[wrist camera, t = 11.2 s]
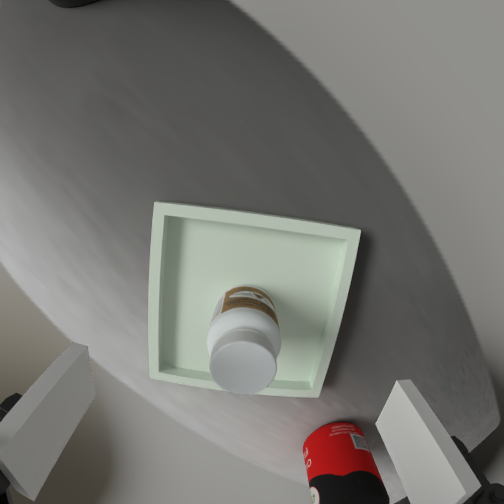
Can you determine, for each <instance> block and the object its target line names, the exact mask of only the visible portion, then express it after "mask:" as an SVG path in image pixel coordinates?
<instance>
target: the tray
mask: <svg viewBox="0 0 504 504" xmlns="http://www.w3.org/2000/svg"><path fill="white" fill-rule="evenodd" d="M360 234H361V230H359V229H357V228H354V227H351V226H345V225H339V224H333V223H326V222H320V221H314V220H307V219H301V218H294V217H287V216H280V215H274V214H266V213H259V212H252V211H244V210H237V209H229V208H221V207H213V206H204V205H196V204H187V203H178V202H169V201H157V202H154V211H153V222H152V235H151V250H150V269H149V300H148V344H149V375H150V378H153V379H157V380H162V381H167V382H173V383H178V384H184V385H189V386H195V387H202V388H208V389H215V390H223V391H226V390H224V389H222V388H221V387H220V386H219V385H217V384H216V383H215V381H214V380H213V378H212V376H211V373H210V367H209V365H210V358H211V357H210V355H209V352H208V349H207V335H208V331H209V327H210V323H211V320H212V316H213V313H214V309H215V306H216V303H217V301H218V299H219V297H220V296H221V295H222V294H223V293H224V292H225V291H226V290H227V289H229V288H231V287H233V286H236V285H241V284H248V285H254V286H257V287H259V288H261V289H263V290H264V291H265V292H266V293H268V294H269V296H270V297H271V299H272V301H273V303H274V306H275V310H276V315H277V320H278V325H279V329H280V334H281V349H280V352H279V355H278V357H277V359H276V361H277V372H276V375H275V378H274V380H273V381H272V382H271V384H270V385H269V386H268V387H266V388H265V389H263V390H261V391H259V392H256V393H253V394H260V395H273V396H289V397H316V398H318V397H319V394H320V391H321V388H322V385H323V382H324V379H325V376H326V373H327V370H328V366H329V363H330V360H331V356H332V353H333V349H334V346H335V342H336V339H337V335H338V331H339V328H340V324H341V320H342V316H343V312H344V308H345V304H346V300H347V296H348V292H349V287H350V283H351V278H352V274H353V269H354V264H355V260H356V255H357V250H358V244H359V239H360Z"/></svg>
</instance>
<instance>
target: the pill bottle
mask: <svg viewBox="0 0 504 504" xmlns="http://www.w3.org/2000/svg"><path fill="white" fill-rule="evenodd" d="M207 349H208V352H209V355H210V357H211V358H210V365H209V367H210V373H211V376H212V378H213V380H214V381H215V383H216V384H217V385H219V386H220V387H221V388H222V389H224V390H226V391H228V392H231V393H235V394H244V395H245V394H253V393H256V392H259V391H261V390H263V389H265V388H266V387H268V386H269V385H270V384H271V382H272V381H273V380H274V378H275V375H276V372H277V361H276V359H277V357H278V355H279V352H280V349H281V334H280V329H279V325H278V320H277V315H276V310H275V306H274V303H273V301H272V299H271V297H270V296H269V294H268V293H266V292H265V291H264V290H263V289H261V288H259V287H257V286H254V285H248V284H241V285H236V286H233V287H231V288H229V289H227V290H226V291H225V292H224V293H223V294H222V295H221V296H220V297H219V299H218V301H217V303H216V306H215V309H214V313H213V316H212V320H211V323H210V327H209V331H208V335H207Z"/></svg>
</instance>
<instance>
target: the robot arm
mask: <svg viewBox="0 0 504 504" xmlns="http://www.w3.org/2000/svg"><path fill="white" fill-rule="evenodd" d="M49 1H50V2H51V3H53V4H54V5H56V6H59V7H76V6H81V5H85V4H88V3H91V2H94V1H97V0H49ZM95 396H96V391H95V386H94V381H93V376H92V370H91V365H90V359H89V352H88V346H85V345H81V344H78V343H75V342H72V343H71V344H70V345H69V346H68V347H67V349H66V350H65V351H64V352H63V353H62V354H61V355H60V356H59V357H58V358H57V359H56V360H55V361H54V362H53V363H52V364H51V365H50V366H49V368H48V369H47V370H46V371H45V372H44V373H43V374H42V375H41V376H40V377H39V378H38V380H37V381H36V382H35V383H34V384H33V385H32V386H31V387H30V388H29V390H28V391H27V392H26V393H25V394H24V395H23V396H22V395H20V394H18V393H15V394H14V395H11V396H10V397H8V398H6V399H5V400H4V401H3V402H2V403H1V405H0V504H13V501H12V498H11V493H10V491H9V489H8V487H9V485H10V483H11V484H12V486H13V487H14V488H15V489H16V490H17V491H18V492H19V493H21V494H23V495H24V496H26V497H28V498H29V499H31V500H33V501H34V500H35V498H36V497H37V495H38V493H39V491H40V489H41V487H42V485H43V484H44V482H45V480H46V478H47V476H48V474H49V473H50V471H51V469H52V467H53V466H54V464H55V462H56V460H57V459H58V457H59V455H60V454H61V452H62V450H63V448H64V447H65V445H66V443H67V442H68V440H69V438H70V437H71V435H72V433H73V432H74V430H75V428H76V427H77V425H78V423H79V422H80V420H81V418H82V417H83V415H84V414H85V412H86V410H87V409H88V407H89V405H90V404H91V402H92V401H93V399H94V398H95ZM375 424H376V427H377V429H378V431H379V433H380V435H381V437H382V440H383V442H384V444H385V446H386V448H387V451H388V453H389V455H390V457H391V459H392V462H393V464H394V466H395V468H396V471H397V473H398V475H399V477H400V480H401V482H402V484H403V487H404V489H405V491H406V494H407V496H408V498H409V501H410V503H411V504H504V486H503V485H501V484H498V483H494V484H490V483H489V481H488V480H487V479H486V477H485V475H484V474H483V472H482V471H481V469H480V468H479V466H478V465H477V463H476V462H475V460H474V459H473V457H472V456H471V454H470V453H468V450H467V448H466V447H465V445H464V444H463V442H461V441H460V440H459V439H458V438H456V437H455V436H451V437H450V436H449V434H448V433H447V431H446V430H445V428H444V427H443V425H442V424H441V422H440V421H439V420H438V418H437V417H436V415H435V414H434V412H433V411H432V409H431V408H430V407H429V405H428V404H427V402H426V401H425V399H424V398H423V397H422V395H421V394H420V392H419V391H418V390H417V388H416V387H415V385H414V384H413V383H412V381H411V380H397V381H396V383H395V385H394V387H393V389H392V392H391V394H390V396H389V398H388V400H387V402H386V404H385V406H384V408H383V410H382V412H381V414H380V416H379V418H378V420H377V422H376V423H375Z"/></svg>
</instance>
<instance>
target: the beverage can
mask: <svg viewBox="0 0 504 504" xmlns="http://www.w3.org/2000/svg"><path fill="white" fill-rule="evenodd" d="M303 454H304V459H305V465H306V470H307V475H308V481H309V486H310V492H311V497H312V502H313V504H389V496H388V494H387V491H386V489H385V486H384V484H383V481H382V479H381V476H380V474H379V471H378V469H377V466H376V464H375V461H374V459H373V457H372V454H371V452H370V449H369V447H368V445H367V442H366V440H365V437H364V435H363V433H362V431H361V429H360V428H359V427H358V426H356V425H354V424H351V423H346V422H336V423H330V424H327V425H324V426H322V427H320V428H318V429H317V430H316V431H314V432H313V433H312V434H311V435H309V437H308V438H307V439H306V441H305V443H304V445H303Z"/></svg>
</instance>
